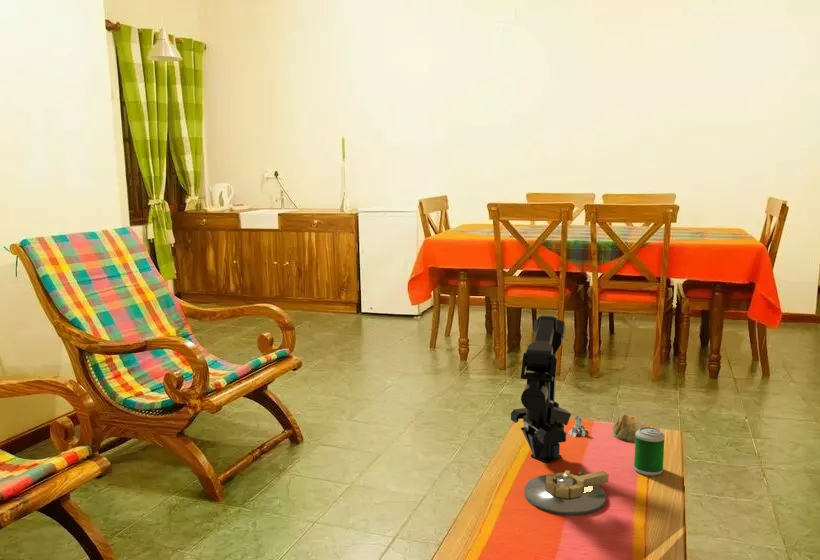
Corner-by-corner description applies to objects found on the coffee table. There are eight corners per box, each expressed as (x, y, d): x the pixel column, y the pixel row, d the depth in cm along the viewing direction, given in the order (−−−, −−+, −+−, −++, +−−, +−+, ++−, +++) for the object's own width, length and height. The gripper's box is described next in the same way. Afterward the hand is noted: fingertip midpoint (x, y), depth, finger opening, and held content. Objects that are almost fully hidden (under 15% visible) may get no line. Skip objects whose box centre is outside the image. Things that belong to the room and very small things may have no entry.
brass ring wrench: (560, 500, 172) (561, 488, 172) (539, 485, 181) (539, 474, 180) (617, 487, 180) (617, 475, 179) (594, 473, 188) (594, 462, 188)
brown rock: (602, 434, 221) (603, 410, 220) (637, 430, 224) (639, 406, 223) (626, 451, 208) (627, 425, 206) (663, 447, 211) (665, 421, 209)
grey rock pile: (584, 449, 210) (585, 424, 209) (561, 441, 216) (562, 417, 215) (602, 442, 216) (603, 418, 214) (579, 434, 222) (579, 410, 221)
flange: (508, 494, 180) (508, 477, 179) (557, 472, 193) (558, 457, 192) (572, 523, 165) (573, 505, 164) (621, 498, 178) (622, 481, 177)
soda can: (664, 479, 188) (666, 436, 187) (635, 477, 190) (637, 434, 188) (660, 468, 196) (662, 426, 194) (632, 465, 197) (634, 424, 195)
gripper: (586, 406, 170) (584, 467, 172) (548, 384, 187) (546, 440, 189) (545, 411, 166) (543, 473, 168) (510, 388, 184) (509, 445, 186)
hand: (536, 457), depth 178 cm, fingers closed
